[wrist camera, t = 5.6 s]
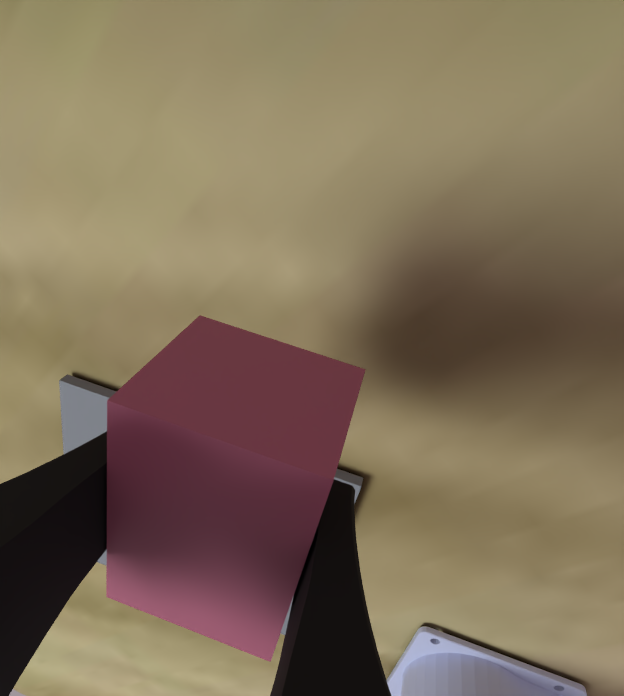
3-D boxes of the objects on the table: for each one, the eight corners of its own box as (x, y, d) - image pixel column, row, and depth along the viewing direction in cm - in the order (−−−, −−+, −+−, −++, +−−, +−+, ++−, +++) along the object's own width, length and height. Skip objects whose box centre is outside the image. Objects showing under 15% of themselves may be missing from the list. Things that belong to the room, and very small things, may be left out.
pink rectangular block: (365, 369, 12) (333, 479, 9) (309, 534, 15) (270, 661, 12) (199, 315, 13) (107, 400, 9) (179, 486, 16) (106, 596, 12)
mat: (363, 477, 23) (360, 489, 23) (302, 631, 30) (299, 644, 30) (67, 374, 25) (56, 382, 24) (75, 543, 32) (67, 553, 31)
